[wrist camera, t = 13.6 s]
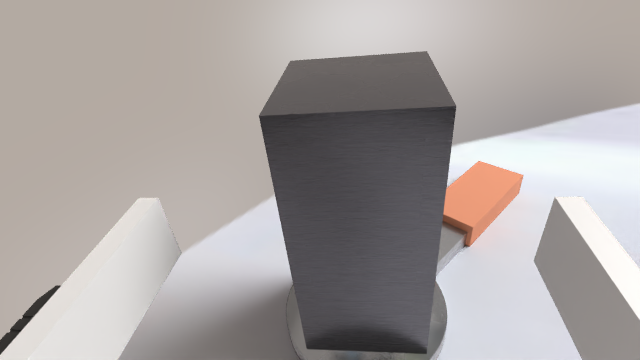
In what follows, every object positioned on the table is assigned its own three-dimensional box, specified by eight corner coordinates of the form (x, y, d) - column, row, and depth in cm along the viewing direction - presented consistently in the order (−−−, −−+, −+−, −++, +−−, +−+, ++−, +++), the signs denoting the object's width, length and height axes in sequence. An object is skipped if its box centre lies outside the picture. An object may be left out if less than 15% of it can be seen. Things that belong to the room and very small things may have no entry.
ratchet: (376, 439, 16) (375, 393, 14) (258, 319, 22) (244, 273, 20) (557, 203, 28) (572, 159, 26) (450, 166, 34) (455, 127, 31)
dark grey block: (318, 262, 24) (290, 60, 16) (412, 262, 23) (426, 51, 16) (306, 349, 19) (258, 115, 11) (426, 353, 18) (455, 105, 11)
